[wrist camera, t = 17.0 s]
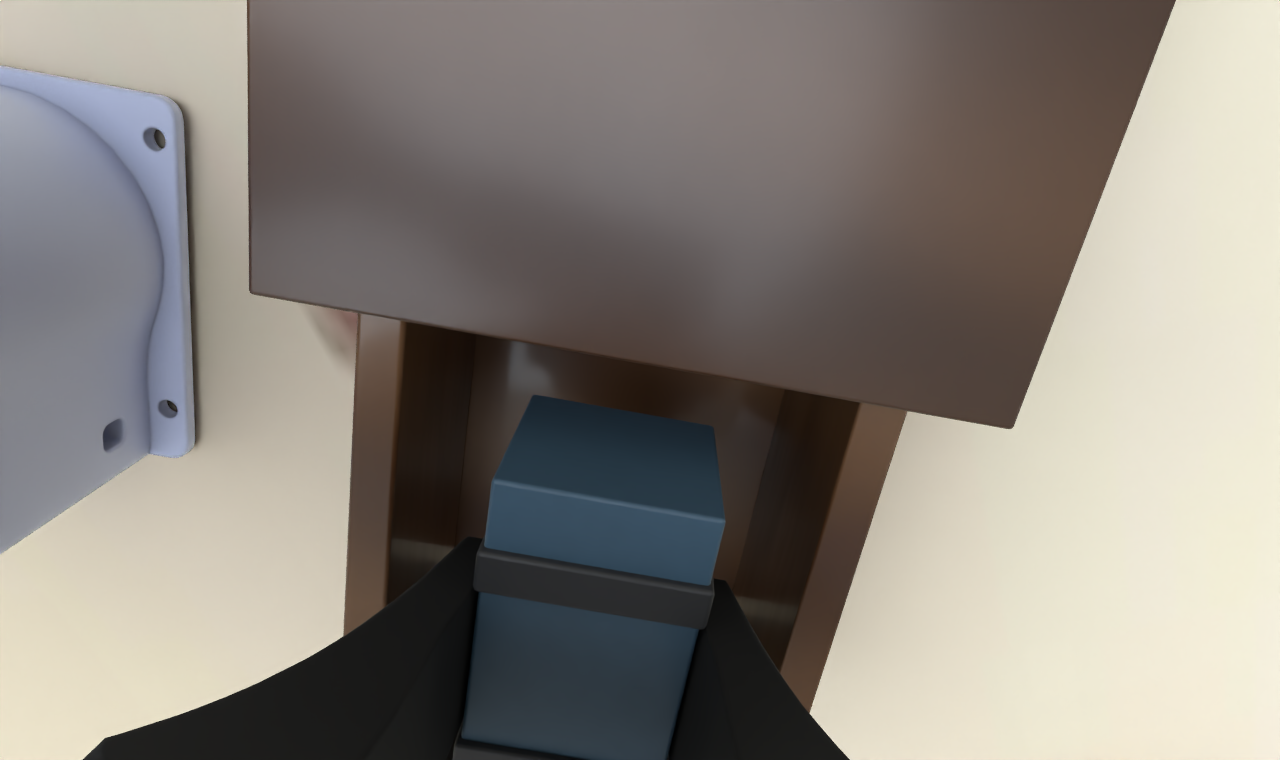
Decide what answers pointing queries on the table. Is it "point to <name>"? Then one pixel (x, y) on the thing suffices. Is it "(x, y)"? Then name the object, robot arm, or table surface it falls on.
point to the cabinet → (700, 178)
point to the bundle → (591, 585)
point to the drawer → (515, 371)
